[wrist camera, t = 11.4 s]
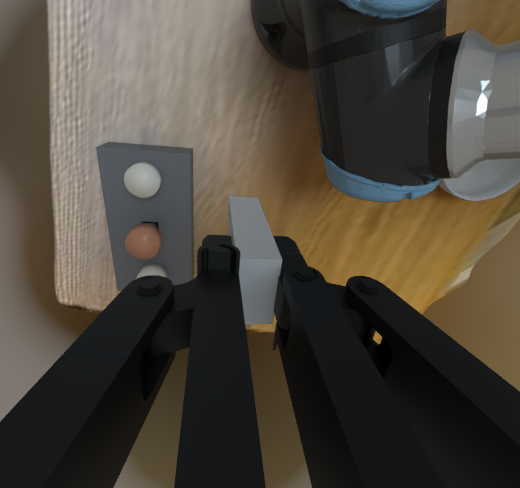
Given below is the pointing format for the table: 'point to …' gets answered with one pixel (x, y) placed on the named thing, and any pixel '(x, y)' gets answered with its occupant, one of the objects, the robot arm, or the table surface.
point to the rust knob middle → (144, 240)
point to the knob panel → (150, 208)
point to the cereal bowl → (484, 180)
